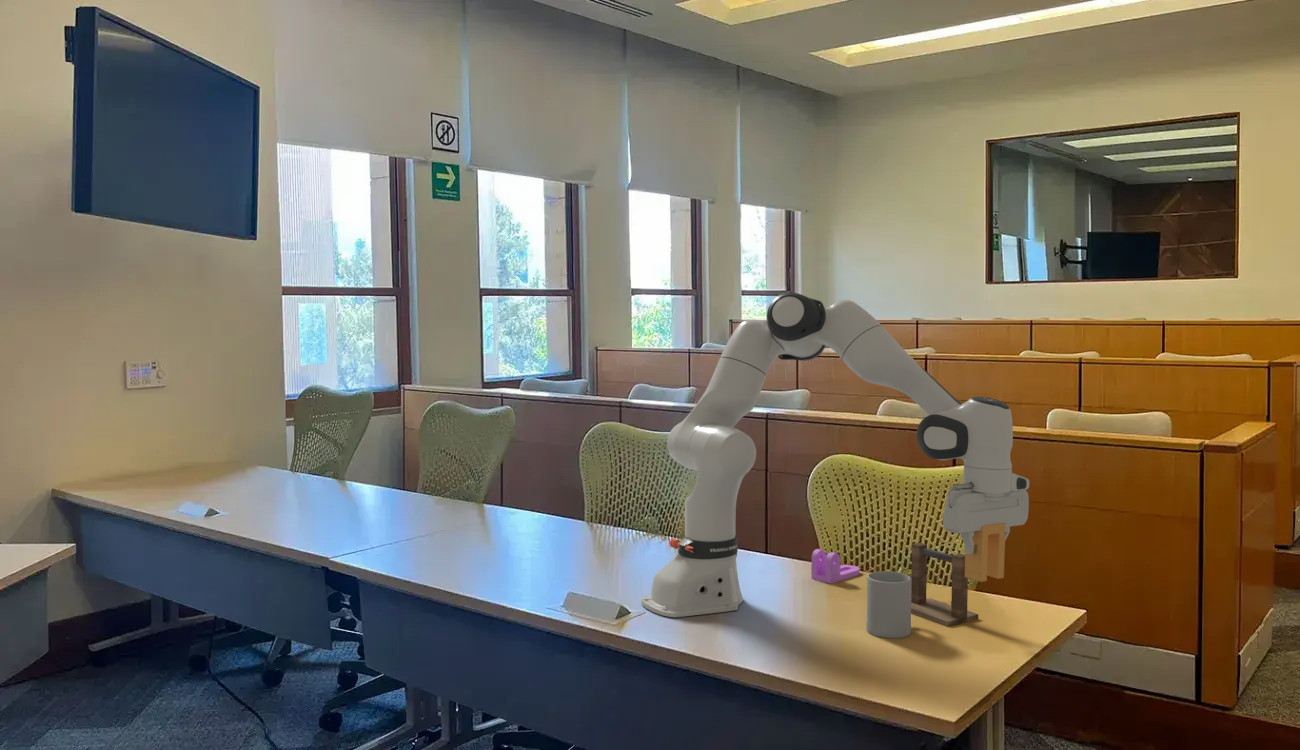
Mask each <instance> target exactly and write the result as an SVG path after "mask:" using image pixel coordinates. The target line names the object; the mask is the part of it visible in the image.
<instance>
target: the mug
mask: <svg viewBox="0 0 1300 750" xmlns="http://www.w3.org/2000/svg"><path fill="white" fill-rule="evenodd" d="M865 623H866V624H865V625H866V626H865V627H866V632H867V633H868V634H870V635H872V636H875V637H877V638H882V639H902V638H903V639H904V638H906V637H908V636H910V635H911V633H912V614H911V576H910V575H908V574H907V573H902V572H898V571H889V570H888V571H886V570H883V571H881V570H880V571H873V572H871V573H868V574H867V577H866V622H865Z"/></svg>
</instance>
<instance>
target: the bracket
mask: <svg viewBox="0 0 1300 750" xmlns="http://www.w3.org/2000/svg"><path fill="white" fill-rule="evenodd" d="M810 565H811V568H810V569H811V572H810V573H811V580H814V581H819V582H823V583H825V584H830V585H831V584H833V583H837V582H841V581H845V580H847V579H850V578H854V577H856V576H859V575H860V567H859V566H855V565H851V564H841V557H840V554H839V553H837V552H833V551H831V552H828V554H826V551H825V550H823V549H820V548H816V549H814V550H813V552H812V554H811V564H810Z"/></svg>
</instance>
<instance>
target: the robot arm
mask: <svg viewBox="0 0 1300 750" xmlns="http://www.w3.org/2000/svg"><path fill="white" fill-rule="evenodd" d="M826 346H827V347H829V348H830V349H831V350H833V351H834V352H835V353H836V354H837V355H838V357H839V358H840V360H842V362H843V363H844V364H845V365H846V366H847V367H848V369H850V370H851V371H852V372H853V373H854V374H855V375H856V376H858V377H859V378H860V379H861V380H863V381H864V382H866V383H869V384H873V385H877V386H883V387H887V388H890V389H893V390H896V391H898V392H901V393H903V394H905V395H906V396H908V397H909V398H910V399H911V400H913V402H915V404H917V405H918V406H919V408H920V409H922V411H924V413H926V414H927V416H925V417H924V418H922V420H921V421H920V422H919V424H918V426H917V429H916V442H917V445H918V447H919V449H920V450H921V452H922V453H923V454H924V455H925V456H926V457H928V458H929V459H933V460H938V461H949V460H955V459H962V461H963V478H962V479H963V481H962V482H963V483H955V484H953V486H952V487H951V488H950V489H949V490H948V492H947V496H946V499H945V503H944V511H943V517H942V518H943V519H942V525H943V528H944V530H945V531H947V532H949V533H953V534H960V537H961V539H962V542H963V544H964V553H968V554H974V553H977V545H976V544H974V542H973V539H972V537H974V531H980V530H981V528H982V526H986V525H993V524H1001V523H1006V526H1005V542H1006V541H1007V538H1008V536H1009V535H1010V533H1011V527H1017V526H1022V525H1023V526H1024V525H1025V524H1026V522H1027V520H1028V518H1029V507H1030V505H1029V504H1030V503H1029V502H1030V501H1029V500H1030V499H1029V493H1028V491H1027V490H1028V489H1029V488H1030V479H1028V477H1025V476H1022V475H1018V474H1016V473H1013V468H1012V467H1013V464H1012V461H1011V451H1012V448H1013V445H1014V444H1013V443H1014V438H1013V437H1014V429H1013V428H1014V426H1013V417H1012V416H1013V415H1012V412H1011V408H1010V407H1009V405H1008V404H1007V403H1005V402H1004V401H1002V400H1000V399H996V398H992V397H984V396H971V398H969V399H968V400H967V401H965V402H963V403H962V402H961V401H959V400H958V399H957V398H956V397H954V396H953V394H951V393H950V392H949V391H948V390H947V389H946V388H945V387H944V386H943V385H942V384H941V383H940V382H938V381H937V380H936V378H934V377H933V376H932V375H931V374H930V373H929V372H928V371H927V370H926V369H925V368H923V367H922V366H921V365H920V364H919V363H918V362H917V361H916V360H915V359H914V358H913V357H912V356H911V355H910V354H909V353H908V352H907V351H906V350H905V349H904V348H903V347H902V346H901V345H900V344H899V343H898V341H897V340H896V339H895V338H894V337H893V336H892V335H891V334H890V332H889V331H888V330H886V328H885V326H883V325H882V324H881V323H880V322H879V321H878V320H877V319H876V317H874V316H873V315H872V314H870V313H869V312H868V311H867V310H866V309H865V308H863V307H862V306H861V305H859V304H857V303H856V302H854V301H852V300H849V299H842V300H839V301H837V302H834V303H833V304H831V305H830V306H828V307H825V305H824V304H823V301H821V300H819V299H816V298H815V299H814V298H811V297H808V296H806V295H804V294H800V293H797V292H784V293H781V294H778V295H777V296H776V297H775V298H774V299H772V301H771V302H770V303H769V306H768V308H767V312H766V320H765V321H762V320H758V319H746V320H743V321H742V322H740V323H739V324H738V325H737V326H736V328H735V330H734V331H733V333H732V334H731V335H730V337H729V338H728V341H727V343H726V344H725V347H724V349H723V350H722V352H721V355H720V357H719V359H718V361H717V364H716V366H715V369H714V372H713V373H712V376H711V379H710V381H709V383H708V385H707V387H706V389H705V391H704V392H703V394H702V396H701V397H700V399H699V401H698V402H697V403H696V404H695V406H694V407H693V408H692V409H691V411H690V412H689V413H688V415H686V417H685V418H684V419H683V420H682V421H680V422H678V423H677V424H675V426H674V427H673V428H672V429H671V430H670V432H669V433H668V435H667V441H666V448H667V451H668V454H669V455H670V457H671V458H672V459H673V460H674V461H675V462H676V463H678V464H679V465H681V466H682V467H684V468H686V469H688V470H693V471H696V480H695V484H694V487H693V490H692V492H691V494H689V495H688V496H687V497H686V499H685V501H684V535H683V536H682V539H681V541H680V540H679V539H676V538H675V537H671V538H670V539H669V541H668V545H669V546H670V548H672V549H673V548H674V549H677V554H676V555H675V556H674V557H673V558H672V559H671V560H670V561H669V562H668V563H666V564H665V565H664V567H661V569H660V570H659V571H657V573H656V574H655V575H654V577H653V580H652V585H651V594H647V595H644V596H641V599H640V600H641V601H640V603H641V605H642V607H644V608H645V609H646V610H648V611H650V612H652V613H655V614H657V615H661V616H664V617H669V618H684V617H691V616H699V615H708V614H716V613H726V612H732V611H737V610H738V609H739V605H741V603H742V602H743V600H744V598H743V595H742V591H741V588H740V582H739V575H738V567H737V555H738V551H739V550H738V549H739V548H738V536H737V535H736V518H737V517H736V515H737V513H736V510H737V508H736V507H737V500H738V493H739V490H740V488H741V485H742V481H743V479H744V477H745V476H746V475H747V474H748V473H749V472H750V471H751V470H752V468H753V467H754V464H755V462H756V458H757V448H756V445H755V442H754V440H753V439H752V437H751V436H750V435H749V434H747V433H746V432H744V431H742V430H740V429H738V428H736V427H735V426H736V425H737V424H738V422H739V421H740V420H741V419H742V418H743V417H745V416H746V415H747V414H749V413H750V412H751V411H753V410H754V408H755V406H756V403H757V400H758V399H759V396H760V394H761V391H762V390H763V389H762V388H763V386H764V384H765V381H766V379H767V376H768V373H769V372H770V371H769V370H770V368H771V367H772V364H773V362H774V360H775V359H776V358H777V357H778V358H779V359H780V360H784V361H785V360H786V361H787V360H789V361H791V360H792V361H804V362H805V361H806V362H807V361H811V360H814V359H816V358H817V357H819V356H820V355H821V354H822V353H823V352H824V350H825V349H826Z"/></svg>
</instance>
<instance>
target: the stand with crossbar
mask: <svg viewBox="0 0 1300 750" xmlns="http://www.w3.org/2000/svg"><path fill="white" fill-rule="evenodd" d="M928 557H930V558H933V559H937V560H940V561H945V562H948V563H950V564H951V601H950V603H951V604H949V603H946V602H943V601H939V600H937V599H934V598H932V597H931V598H930V597H929V598H927V584H928V583H927V581H928V580H927V578H928V577H927V576H928V575H927V573H928V571H927V570H928V569H927V568H928V566H927V565H928V564H927V563H928V562H927V561H928ZM910 578H911V615H913V616H914V615H915V616H916V617H920V618H922V619H925V620H928V621H932V622H933V623H937V624H939V625H942V626H945V627H951V626H956V625H960V624H963V623H967V622H968V623H969V622H972V621H975V620H979V614H978V613H976V612H972V611H971V610H968V593H969V591H968V590H969V588H968V587H969V584H968V583H969V582H968V581H969V578H967V577H965V554H963V553H956V554H950V553H946V552H942V551H938V550H934V549H931V548H928V544H926V543H922V542H916V543H915V542H914V543H912V544H911V576H910Z"/></svg>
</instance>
